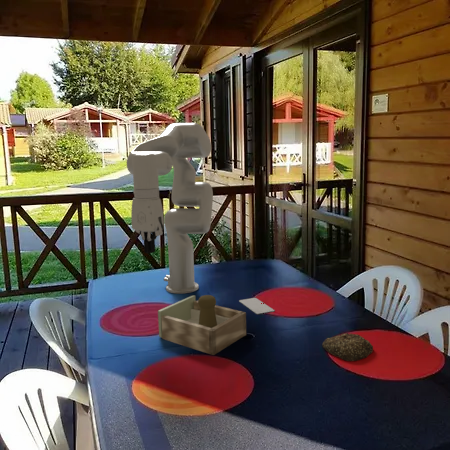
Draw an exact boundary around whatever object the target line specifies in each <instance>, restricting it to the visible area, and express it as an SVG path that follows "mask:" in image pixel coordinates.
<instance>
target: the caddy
mask: <svg viewBox="0 0 450 450" xmlns="http://www.w3.org/2000/svg"><path fill="white" fill-rule="evenodd" d="M194 309H196V310H200V307H199V304H198V300H196V301H194ZM214 309H215V315H219V316H223V317H227V318H229V319H228V320H226V321H224V322H222V323H220V324H219V325H217V326H215V327H213V328H210V327H206V326H202V325H199V324H195V323H192V322H188V321H184V320H181V319H177V318H174V317H170V316H167V315H164V316H161V319H162V339H163V340H165V341H166V342H167V341H168V342H171V343H174V344H177V345H179V346H180V345H181V346H183V347H186V348H189V349H193V350H196V351H199V352H202V353H206V354H208V355H212V356H215V355H217V354H218V353H220V352H221V351H223V350H224V349H226V348H228V347H230V346H231V345H232V344H234V343H235V342H237V341H239V340H240V339H242V338H244V337H246V336H247V312H245V311H242V310H237V309H232V308H229V307H225V306H220V305H218V304H216V305H215V307H214Z"/></svg>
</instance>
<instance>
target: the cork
mask: <svg viewBox="0 0 450 450" xmlns="http://www.w3.org/2000/svg"><path fill="white" fill-rule="evenodd" d="M197 301H198V304H199V307H200V315H199V325H202V326H206V327H210V328H213V327H215V326H217V321H216V315H215V309H214V307H215V305H217V300H216V297H215V296H214V295H211V294H205V295H204V294H203V295H200V297H198V300H197Z"/></svg>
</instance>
